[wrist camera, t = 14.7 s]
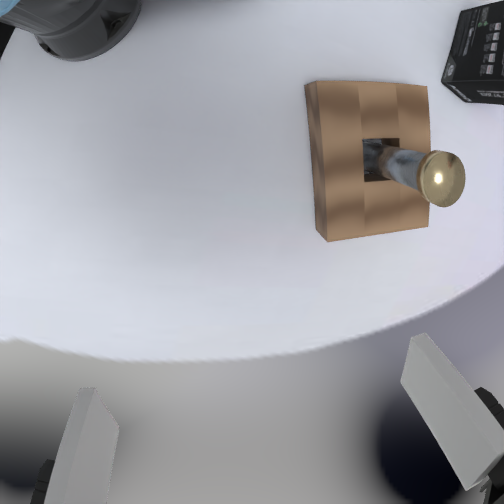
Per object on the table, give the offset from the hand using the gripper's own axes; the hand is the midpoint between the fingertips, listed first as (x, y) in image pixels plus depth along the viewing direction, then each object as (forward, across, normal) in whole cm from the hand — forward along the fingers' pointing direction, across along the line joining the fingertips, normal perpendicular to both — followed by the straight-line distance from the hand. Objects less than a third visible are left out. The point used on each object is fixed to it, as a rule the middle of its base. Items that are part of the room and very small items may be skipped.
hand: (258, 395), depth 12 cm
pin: (+33, +20, +4) cm, 39 cm away
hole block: (+33, +20, +4) cm, 39 cm away
